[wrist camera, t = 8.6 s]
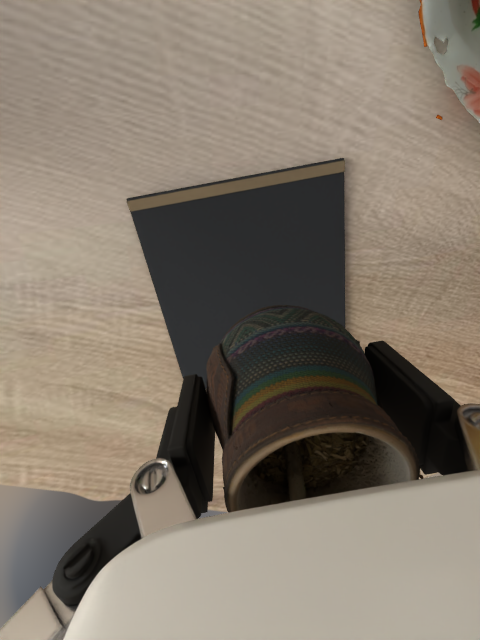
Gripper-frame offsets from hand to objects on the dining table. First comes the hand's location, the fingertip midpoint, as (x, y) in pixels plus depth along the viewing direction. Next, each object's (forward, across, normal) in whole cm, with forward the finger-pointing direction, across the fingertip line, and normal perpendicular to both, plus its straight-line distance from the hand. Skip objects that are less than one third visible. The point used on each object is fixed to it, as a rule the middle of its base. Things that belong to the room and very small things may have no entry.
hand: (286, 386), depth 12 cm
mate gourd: (+3, 0, 0) cm, 3 cm away
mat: (+15, 0, 0) cm, 15 cm away
